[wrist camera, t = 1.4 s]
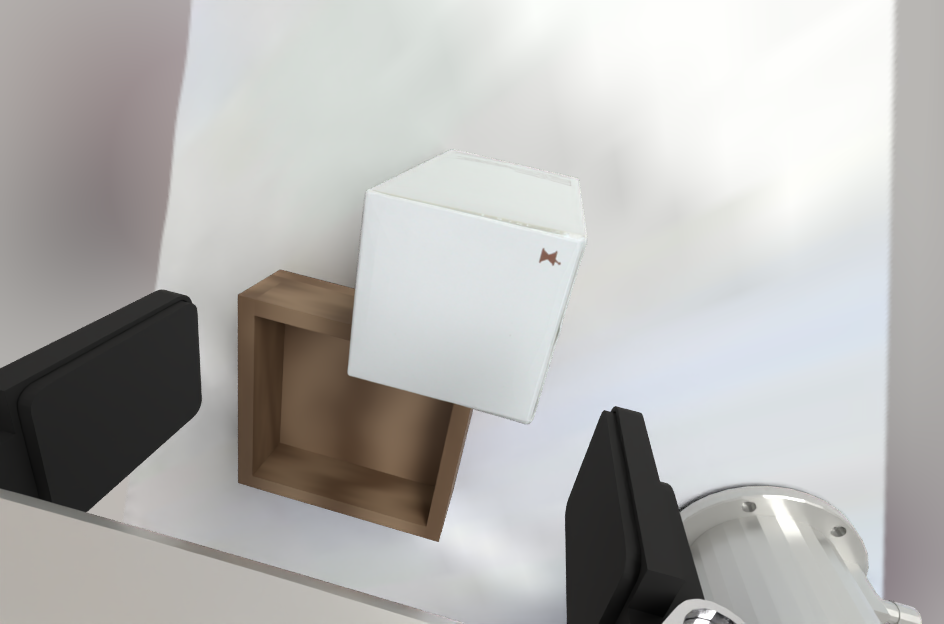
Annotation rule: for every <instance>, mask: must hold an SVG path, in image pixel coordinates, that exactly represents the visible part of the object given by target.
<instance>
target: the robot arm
mask: <svg viewBox="0 0 944 624" xmlns="http://www.w3.org/2000/svg"><path fill="white" fill-rule="evenodd" d="M201 402H202V395H201V375H200V354H199V334H198V314H197V308H196V306H195V305H194V304H192V301H191V299H190V298H189V297H188V296H186V295H182V294H178V293H174V292H170V291H167V290H158V291H155V292H153V293H151V294H149V295H147V296H145V297H143V298H141V299H139V300H137V301H135V302H133V303H131V304H129V305H127V306H125V307H123V308H121V309H119V310H117V311H115V312H113V313H111V314H109V315H107V316H105V317H103V318H101V319H99V320H97V321H95V322H93V323H91V324H89V325H87V326H85V327H83V328H81V329H79V330H77V331H75V332H73V333H71V334H69V335H67V336H65V337H63V338H61V339H59V340H57V341H55V342H53V343H51V344H49V345H47V346H45V347H43V348H41V349H39V350H37V351H35V352H33V353H31V354H28V355H26V356H24V357H22V358H20V359H19V360H16V361H14V362H12V363H10V364H8V365H6V366H4V367H2V368H0V624H465V623H462V622H459V621H456V620H452V619H449V618H446V617H443V616H440V615H436V614H433V613H430V612H426V611H423V610H419V609H416V608H413V607H409V606H406V605H403V604H399V603H396V602H392V601H389V600H386V599H382V598H379V597H376V596H372V595H369V594H365V593H362V592H359V591H355V590H352V589H349V588H345V587H342V586H338V585H335V584H332V583H328V582H325V581H322V580H318V579H315V578H312V577H308V576H305V575H301V574H298V573H294V572H291V571H288V570H284V569H281V568H277V567H274V566H270V565H267V564H264V563H260V562H257V561H253V560H250V559H246V558H243V557H240V556H236V555H233V554H229V553H226V552H222V551H219V550H215V549H212V548H208V547H205V546H202V545H198V544H195V543H191V542H188V541H184V540H181V539H177V538H174V537H170V536H167V535H164V534H160V533H157V532H153V531H150V530H146V529H143V528H139V527H136V526H132V525H129V524H125V523H121V522H118V521H114V520H111V519H107V518H104V517H100V516H97V515H93V514H89V513H86V512H87V511H89V510H90V509H91V508H92V507H93V506H94V505H95V504H96V503H97V502H98V501H100V500H101V499H102V498H103V497H104V496H105V495H106V494H108V493H109V492H110V491H111V490H112V489H113V488H114V487H115V486H117V485H118V484H119V483H120V482H121V481H122V480H123V479H124V478H125V477H127V476H128V475H129V474H130V473H131V472H132V471H133V470H134V469H136V468H137V467H138V466H139V465H140V464H141V463H142V462H143V461H145V460H146V459H147V458H148V457H149V456H150V455H151V454H152V453H154V452H155V451H156V450H157V449H158V448H159V447H160V446H161V445H162V444H164V443H165V442H166V441H167V440H168V439H169V438H170V437H171V436H173V435H174V434H175V433H176V432H177V431H178V430H179V429H180V428H182V427H183V426H184V425H185V424H186V423H187V422H188V421H189V420H190V419H192V418H193V417H194V416H195V415H196V414H197V412H198V410H199V408H200V406H201ZM565 539H566V601H567V624H885V623H886V622H888V623H889V624H922V620H921V616H920V614H919V612H918V611H917V610H916V609H915V608H914V607H911V606H907V605H904V604H901V603H897V602H894V601H890V600H889V601H886V600H883V599H881V598H880V597H879V595H877V593H876V592H875V590H874V589H873V587H872V585H871V584H870V582H869V581H868V579H867V578H866V576H867V572H868V568H869V566H868V553H867V551H866V548H865V545H864V543H863V540H862V539H861V537H860V536H859V534H858V533H857V531H856V530H855V528H854V527H853V525H852V524H851V522H850V521H849V520H848V519H847V518H846V517H845V516H844V515H843V514H842V513H841V512H840V511H839V510H837V509H836V508H834V507H833V506H832V505H830V504H829V503H827V502H826V501H824V500H821V499H819V498H817V497H815V496H812V495H810V494H808V493H804V492H800V491H797V490H793V489H789V488H782V487H773V486H746V487H740V488H733V489H727V490H724V491H721V492H717V493H714V494H711V495H708V496H706V497H704V498H702V499H700V500H698V501H696V502H694V503H692V504H690V505H689V506H688V507H686V508H685V509H683V510H682V511H681V512H680V511H679V508H678V505H677V501H676V498H675V494H674V491H673V489H672V487H671V486H670V485H669V484H668V483H664V482H660V480H659V476H658V472H657V468H656V464H655V460H654V457H653V453H652V449H651V445H650V441H649V437H648V434H647V430H646V426H645V422H644V418H643V415H642V413H640V412H636V411H632V410H628V409H624V408H620V407H616V406H615V407H613V409H612V410H611V412H609V411H605V410H604V411H603V412H602V414H601V416H600V418H599V421H598V424H597V426H596V429H595V431H594V434H593V437H592V439H591V442H590V444H589V447H588V450H587V452H586V455H585V457H584V460H583V462H582V465H581V468H580V470H579V473H578V475H577V478H576V481H575V483H574V486H573V488H572V491H571V494H570V496H569V499H568V502H567V506H566V512H565Z"/></svg>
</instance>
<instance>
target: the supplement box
mask: <svg viewBox="0 0 944 624" xmlns="http://www.w3.org/2000/svg"><path fill="white" fill-rule="evenodd" d="M586 244H587V232H586V225H585V218H584V211H583V204H582V197H581V190H580V183H579V178H576V177H571V176H567V175H562V174H558V173H554V172H549V171H545V170H541V169H536V168H532V167H528V166H524V165H520V164H515V163H511V162H507V161H502V160H498V159H494V158H490V157H485V156H481V155H477V154H472V153H468V152H463V151H459V150H454V149H450V150H448V151H446V152H445V153H442V154H440V155H438V156H436V157H434V158H432V159H430V160H428V161H426V162H424V163H422V164H420V165H418V166H416V167H413V168H411V169H409V170H407V171H405V172H403V173H401V174H399V175H397V176H395V177H393V178H391V179H389V180H387V181H385V182H383V183H381V184H379V185H377V186H375V187H373V188H371V189H368V190H366V192H365V198H364V207H363V216H362V226H361V234H360V244H359V255H358V265H357V275H356V285H355V295H354V306H353V316H352V327H351V339H350V350H349V361H348V370H347V373H348V375H349V376H353V377H357V378H360V379H364V380H368V381H371V382H375V383H379V384H382V385H386V386H390V387H394V388H398V389H401V390H405V391H409V392H412V393H416V394H420V395H424V396H428V397H431V398H435V399H439V400H443V401H447V402H451V403H455V404H458V405H461V406H465V407H468V408H472V409H475V410H478V411H482V412H485V413H488V414H492V415H495V416H499V417H503V418H506V419H510V420H513V421H516V422H520V423H523V424H530V423H531V422H532V420H533V418H534V415H535V412H536V408H537V405H538V402H539V398H540V395H541V392H542V389H543V385H544V382H545V379H546V375H547V372H548V369H549V365H550V362H551V359H552V356H553V352H554V349H555V346H556V343H557V340H558V337H559V334H560V331H561V327H562V323H563V319H564V315H565V312H566V309H567V306H568V302H569V299H570V296H571V292H572V289H573V286H574V283H575V280H576V276H577V273H578V270H579V267H580V263H581V260H582V257H583V254H584V251H585V248H586Z"/></svg>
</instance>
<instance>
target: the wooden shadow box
mask: <svg viewBox="0 0 944 624" xmlns="http://www.w3.org/2000/svg"><path fill="white" fill-rule="evenodd" d="M354 295H355V289H353V288H349V287H346V286H342V285H338V284H334V283H330V282H326V281H322V280H318V279H315V278H311V277H307V276H303V275H299V274H295V273H291V272H288V271H284V270H279V271H277V272H275V273H274V274H272V275H270V276H269V277H267V278H265V279H264V280H262V281H260V282H259V283H257V284H255V285H254V286H252V287H250V288H249V289H247V290H245V291H244V292H242V293H240V294H239V295H238V483H240V484H243V485H247V486H250V487H254V488H257V489H260V490H264V491H267V492H271V493H274V494H277V495H281V496H284V497H287V498H291V499H294V500H298V501H301V502H304V503H308V504H311V505H315V506H318V507H321V508H325V509H328V510H332V511H335V512H338V513H342V514H345V515H349V516H352V517H355V518H359V519H362V520H366V521H369V522H372V523H376V524H379V525H383V526H386V527H389V528H393V529H396V530H400V531H403V532H406V533H410V534H413V535H417V536H420V537H423V538H427V539H430V540H433V541H437V542H439V539H440V535H441V532H442V528H443V525H444V521H445V518H446V514H447V511H448V507H449V504H450V500H451V497H452V493H453V489H454V485H455V481H456V477H457V473H458V469H459V465H460V461H461V457H462V452H463V448H464V444H465V440H466V436H467V432H468V428H469V424H470V420H471V416H472V412H473V409H472V408H468V407H465V406H461V405H458V404H455V403H451V402H447V401H443V400H439V399H435V398H431V397H428V396H424V395H420V394H416V393H412V392H409V391H405V390H401V389H398V388H394V387H390V386H386V385H382V384H379V383H375V382H371V381H368V380H364V379H360V378H357V377H353V376H349V375H348V373H347V370H348V361H349V350H350V339H351V327H352V316H353V306H354Z"/></svg>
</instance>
